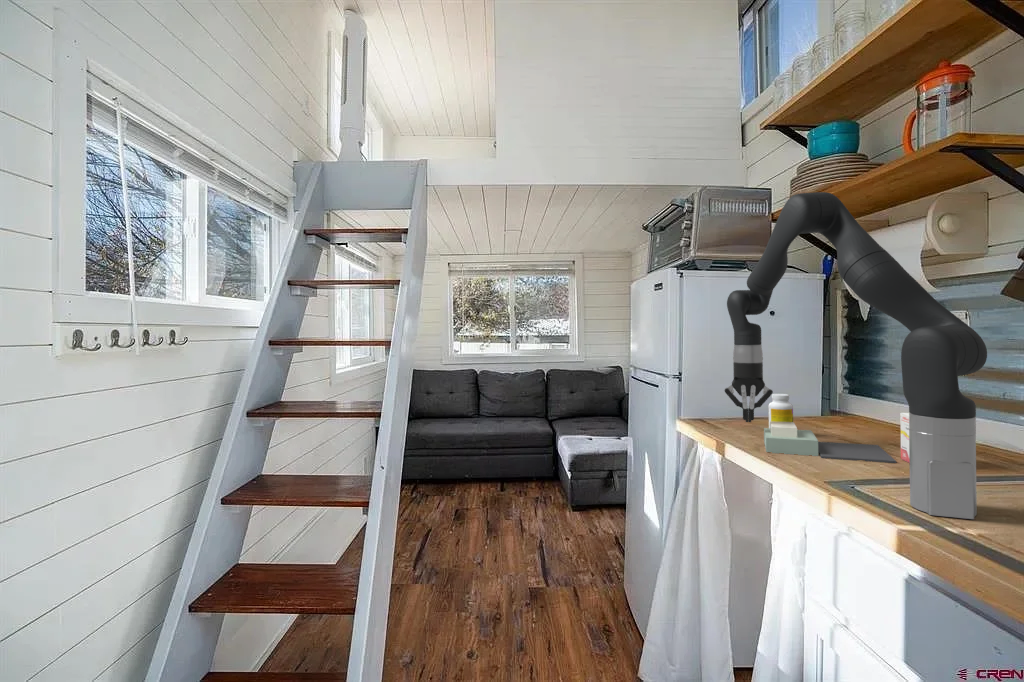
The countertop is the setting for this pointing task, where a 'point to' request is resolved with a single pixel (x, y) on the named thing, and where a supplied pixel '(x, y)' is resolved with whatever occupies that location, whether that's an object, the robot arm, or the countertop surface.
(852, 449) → the mat
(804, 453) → the block
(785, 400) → the supplement bottle
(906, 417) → the ink cartridge box
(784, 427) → the tile
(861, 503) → the countertop surface
